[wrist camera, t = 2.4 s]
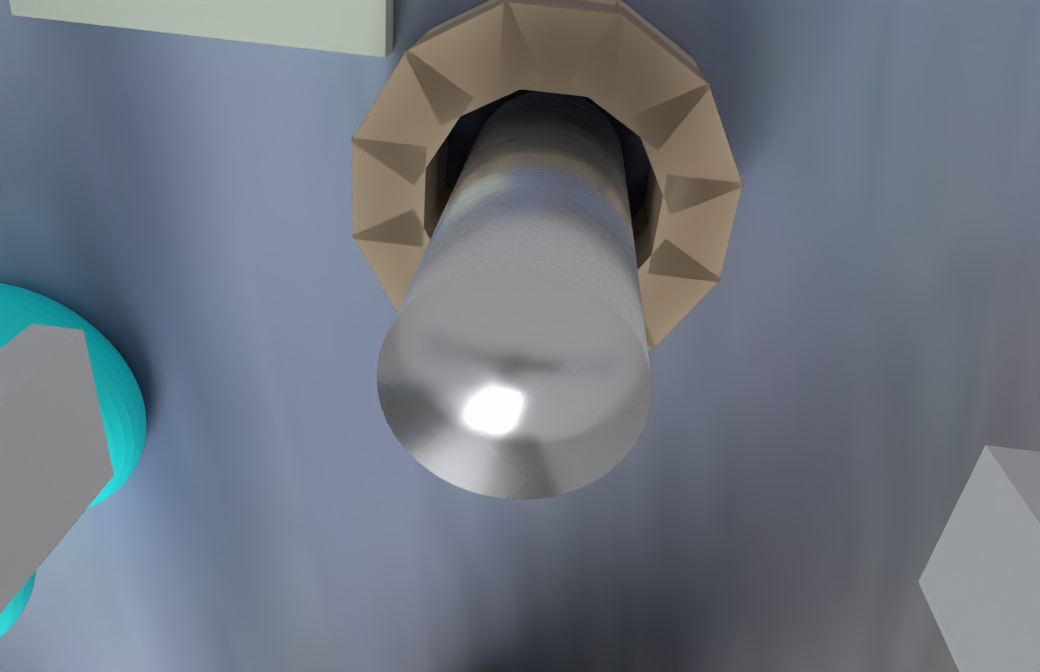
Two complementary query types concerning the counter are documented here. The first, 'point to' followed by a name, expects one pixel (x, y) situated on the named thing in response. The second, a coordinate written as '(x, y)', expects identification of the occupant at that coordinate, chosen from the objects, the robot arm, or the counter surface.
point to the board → (239, 20)
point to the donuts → (119, 395)
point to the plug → (525, 312)
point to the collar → (565, 70)
